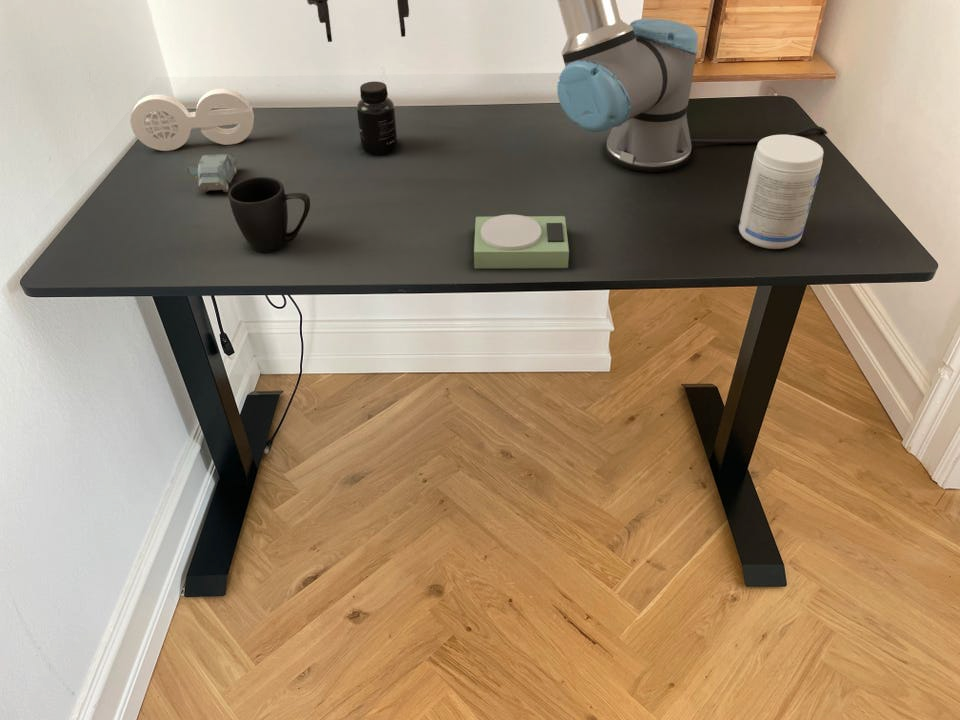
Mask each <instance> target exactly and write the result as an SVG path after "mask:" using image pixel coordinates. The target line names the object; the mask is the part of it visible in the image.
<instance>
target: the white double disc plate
mask: <svg viewBox="0 0 960 720" xmlns="http://www.w3.org/2000/svg"><path fill="white" fill-rule="evenodd" d="M217 106H229V107H231V108H220V109H213V108H215V107H217ZM146 120H147V121H146ZM254 121H255V115H254V109H253V107H252V106H250V102H249V100H248V99H247V98H246V97H245V96H243V94H241V93H239V92H238V91H236V90H233V89H229V88H215V89H212V90H211V89H210V90H209V91H207V92H205V93H204V94H203V95H202V96H201V98H200V99H199V100H198V103H197V105H196V109H195V111H189V110H188V109H187V108H186V107H185V105H183V104H182V103H181V102H180V101H179V100H178V99H175V98H173V97H171V96H169V95H165V94H149V95H146V96H144V97H143V98H141V99H139V100H138V101H137V103H136V104H135V105H134V107H133V109H132V112H131V114H130V126H131V130H132V132H133V135H134V136H135V137H136V138H137V139H138V140H139V141H140V142H141V144H143V145H145V146H146V147H148V148H150V149H153V150H156V151H162V152H169V151H174V150H177V149H179V148H181V147H182V146H184V145H185V144H186V143H187V141H188V140H189V138H190V136H191V133H192V132H191V131H192V129H199V128H200V133H201V134H202V135H203V136H204V137H206V138H207V139H208V140H209V141H211V142H213V143H216V144H220V145H236V144H239V143H241V142H243V141H245V140H246V139H247V138H248V137H249V136H250V134H251V133H252V131H253V129H254V124H255V123H254ZM232 125H236V126H235V127H232V128H222V127H221V126H232Z"/></svg>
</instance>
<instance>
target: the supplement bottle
mask: <svg viewBox="0 0 960 720" xmlns="http://www.w3.org/2000/svg"><path fill="white" fill-rule="evenodd" d="M359 91H360V95H359V96H360V99H359V101H358V103H357V105H356V112H357V121H358V129H359V138H360V146H361V148H362V151H363V153H366V154H367V155H370V156H379V157H380V156H386V155H389V154H392V153H393V152H395V151H396V149H397V148H398V134H397V133H398V132H397V123H396V111H395V103H394V102H393V100H392V99H391V98H390V97H389V92H388V87H387V84H386V83H385V82H382V81H377V80H376V81H368V82H364V83H362V84H361V85H360V87H359Z"/></svg>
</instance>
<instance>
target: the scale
mask: <svg viewBox="0 0 960 720" xmlns="http://www.w3.org/2000/svg"><path fill="white" fill-rule="evenodd" d="M474 222H475V225H474V243H473V261H474V263H473V264H474V269H476V270H477V269H568V268H569V258H570V248H569V240H568V229H567V221H566V216H565V215H556V216H555V215H554V216H553V215H542V216H541V215H540V216H538V215H536V216H535V215H533V216H532V215H531V216H529V215H528V216H526V215H523V214H522V215H521V214H510V213H509V214H501V215H496V216H475V221H474Z"/></svg>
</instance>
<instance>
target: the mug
mask: <svg viewBox="0 0 960 720" xmlns="http://www.w3.org/2000/svg"><path fill="white" fill-rule="evenodd" d="M227 196H228V200H229V205H230V209H231V212H232V215H233V217H234V220H235V223H236V224H237V227H238V228H239V231H240V232H241V234H242V236H243V237H244V239H245V240H246V242H247V243H248V245H249V247H250V249H251V250H252V251H254V252H256V253H261V254H268V253H269V254H270V253H273V252H276V251H279V250H280V249H282V248H283V247H284V246H285V245H286V243H290V242H292V241H294V240H295V239H296V237H297V236H298V235H299V233H300V230H301V228H302V227H303V225H304V223H305V221H306V219H307V217H308V215H309V213H310V209H311V199H310V196H309V194H307V193H305V192H289V193H286V191H285V187H284V184H283V183H282V181H280V180H279V179H277V178H273V177H269V176H256V177H250V178H246V179H243V180H240V181H239V182H236V183H234V184H233V185H232V186H231V187H229V190H228V192H227ZM294 199H295V200H297V199H298V200H301V201H302V202H303V203H304V208H303V213H302V216H301V218H300V220H299V221H298V224H297V225H296V227H295V228H294V229H293V230H292V231H290V232H288V223H289V213H288V212H289V211H288V202H287V201H288V200H294Z"/></svg>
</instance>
